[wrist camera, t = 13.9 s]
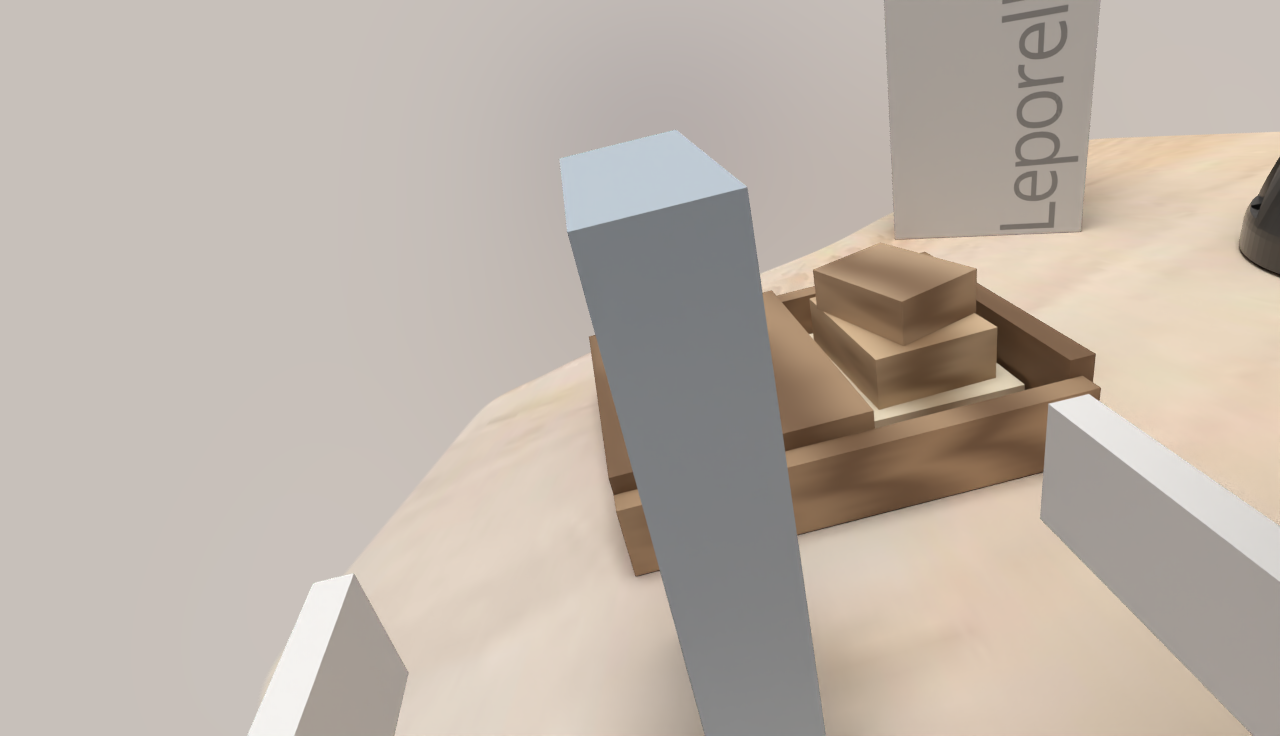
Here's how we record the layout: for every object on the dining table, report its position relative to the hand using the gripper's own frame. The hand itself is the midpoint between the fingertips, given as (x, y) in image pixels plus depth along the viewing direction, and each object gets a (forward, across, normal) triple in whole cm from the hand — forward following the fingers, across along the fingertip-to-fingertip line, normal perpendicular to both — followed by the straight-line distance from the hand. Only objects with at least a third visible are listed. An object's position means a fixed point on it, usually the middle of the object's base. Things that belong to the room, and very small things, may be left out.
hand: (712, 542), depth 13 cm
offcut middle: (+24, +14, -12) cm, 31 cm away
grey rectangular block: (+7, 0, -14) cm, 16 cm away
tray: (+24, +8, -14) cm, 29 cm away
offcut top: (+25, +14, -9) cm, 30 cm away
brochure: (+46, +32, -14) cm, 58 cm away
